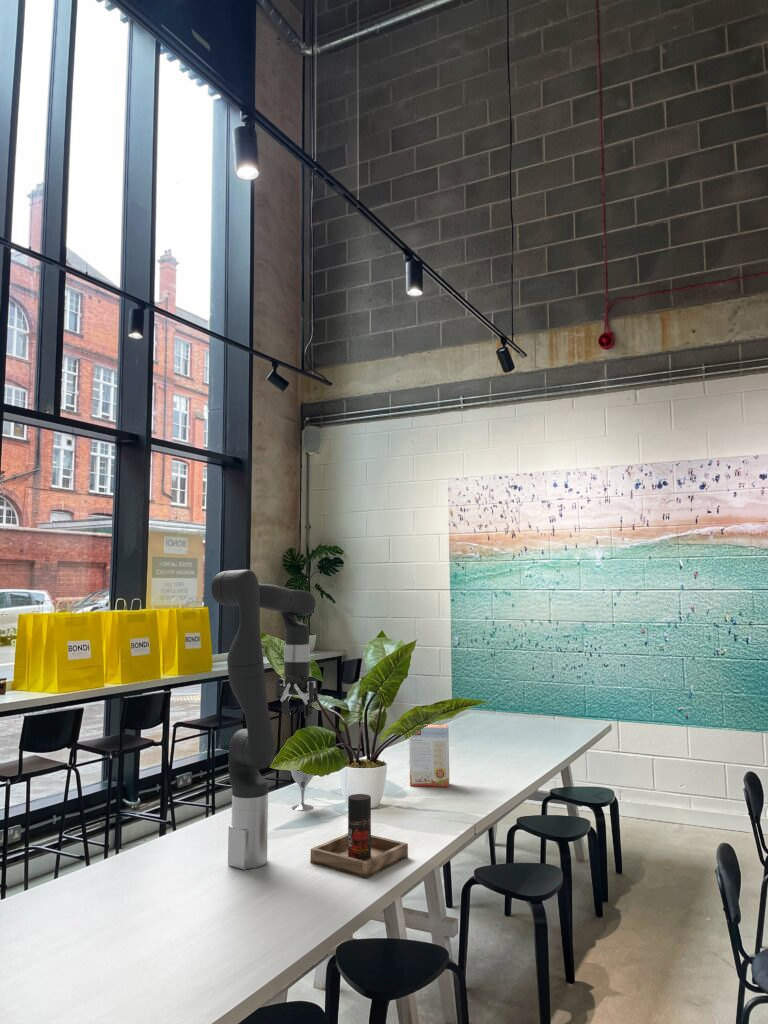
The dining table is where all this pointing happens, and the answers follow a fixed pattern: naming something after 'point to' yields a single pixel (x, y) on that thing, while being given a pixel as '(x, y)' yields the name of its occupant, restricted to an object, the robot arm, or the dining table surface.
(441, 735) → the cracker box
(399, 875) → the dining table surface
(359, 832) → the deodorant
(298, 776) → the wine glass
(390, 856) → the tray
